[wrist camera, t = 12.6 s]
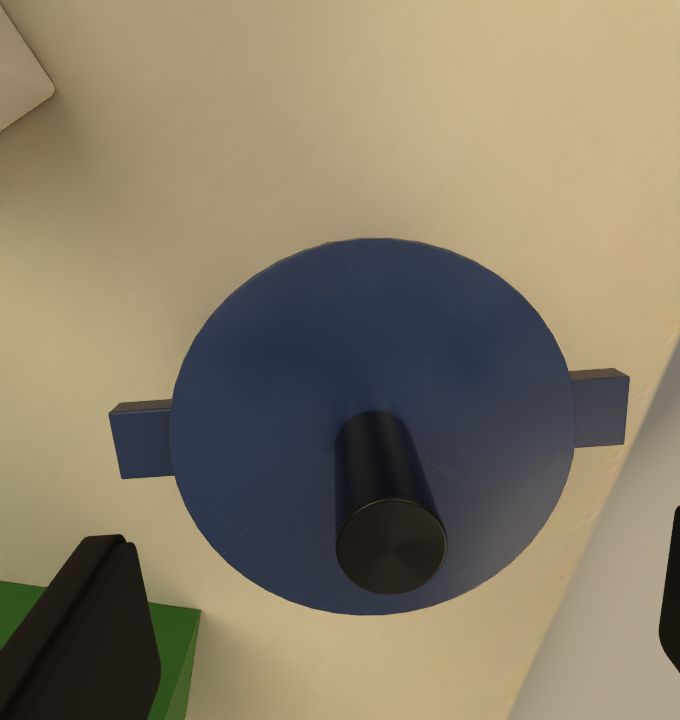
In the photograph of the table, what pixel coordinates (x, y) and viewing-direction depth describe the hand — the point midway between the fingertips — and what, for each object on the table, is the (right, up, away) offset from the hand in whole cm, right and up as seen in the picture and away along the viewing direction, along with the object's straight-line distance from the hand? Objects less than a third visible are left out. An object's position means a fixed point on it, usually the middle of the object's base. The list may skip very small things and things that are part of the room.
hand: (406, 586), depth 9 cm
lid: (0, +1, +7) cm, 7 cm away
